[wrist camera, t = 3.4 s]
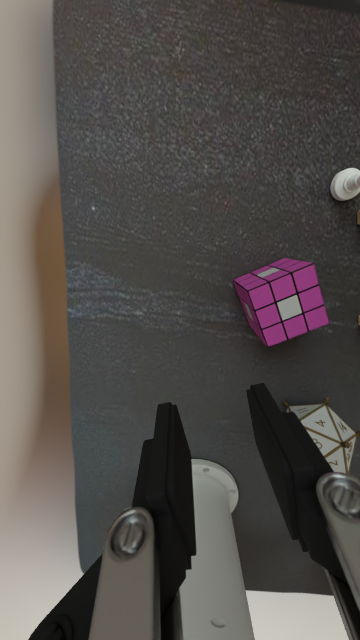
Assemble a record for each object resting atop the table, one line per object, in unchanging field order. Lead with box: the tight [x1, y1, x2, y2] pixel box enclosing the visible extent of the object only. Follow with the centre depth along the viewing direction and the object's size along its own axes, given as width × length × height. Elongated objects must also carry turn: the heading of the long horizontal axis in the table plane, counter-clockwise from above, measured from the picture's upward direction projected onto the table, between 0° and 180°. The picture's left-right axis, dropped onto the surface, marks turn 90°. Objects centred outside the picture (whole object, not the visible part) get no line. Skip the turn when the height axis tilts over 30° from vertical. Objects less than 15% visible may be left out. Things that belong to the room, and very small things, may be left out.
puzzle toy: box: [233, 258, 329, 347], centre depth 23 cm, size 6×6×6 cm
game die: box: [283, 396, 360, 474], centre depth 27 cm, size 9×8×10 cm
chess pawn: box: [330, 168, 360, 201], centre depth 21 cm, size 3×3×4 cm
